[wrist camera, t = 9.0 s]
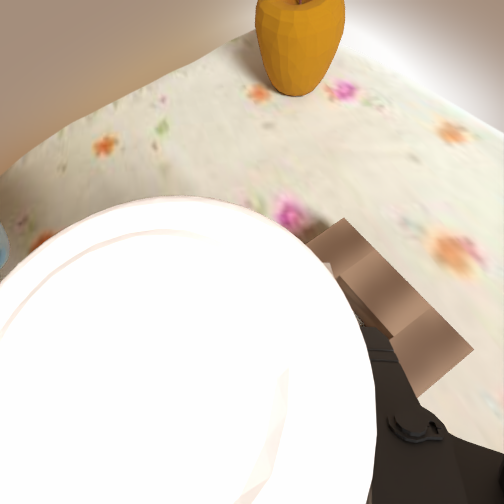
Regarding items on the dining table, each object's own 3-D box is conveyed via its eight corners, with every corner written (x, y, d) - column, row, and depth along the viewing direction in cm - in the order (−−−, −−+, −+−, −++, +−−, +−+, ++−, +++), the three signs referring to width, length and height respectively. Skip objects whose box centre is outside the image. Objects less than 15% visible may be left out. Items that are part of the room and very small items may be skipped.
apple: (340, 62, 47) (358, -46, 36) (326, 113, 43) (341, 11, 32) (270, 55, 50) (266, -49, 38) (251, 103, 46) (239, 4, 34)
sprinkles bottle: (203, 361, 16) (-61, 235, 4) (289, 337, 16) (293, 139, 4) (222, 466, 14) (-220, 892, 2) (320, 438, 14) (522, 665, 2)
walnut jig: (221, 316, 33) (213, 307, 30) (337, 235, 36) (343, 217, 32) (318, 465, 27) (324, 477, 23) (451, 354, 30) (474, 349, 26)
